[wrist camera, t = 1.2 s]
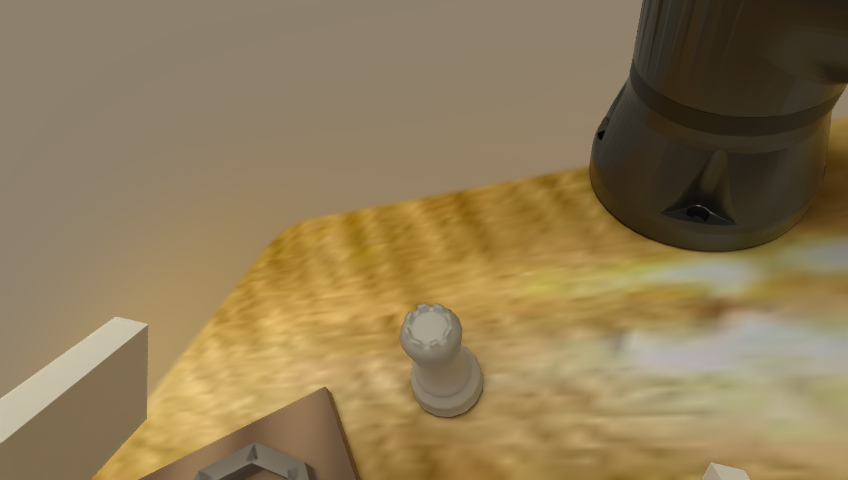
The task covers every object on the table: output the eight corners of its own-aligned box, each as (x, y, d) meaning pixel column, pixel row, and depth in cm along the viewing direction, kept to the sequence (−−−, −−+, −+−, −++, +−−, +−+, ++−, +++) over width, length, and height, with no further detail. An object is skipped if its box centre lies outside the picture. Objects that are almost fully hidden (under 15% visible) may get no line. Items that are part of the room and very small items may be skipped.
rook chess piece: (399, 390, 31) (366, 333, 25) (443, 338, 33) (423, 272, 26) (453, 435, 29) (433, 384, 22) (498, 376, 30) (490, 314, 24)
